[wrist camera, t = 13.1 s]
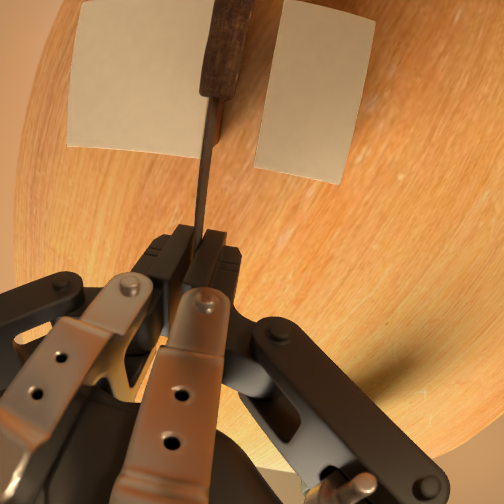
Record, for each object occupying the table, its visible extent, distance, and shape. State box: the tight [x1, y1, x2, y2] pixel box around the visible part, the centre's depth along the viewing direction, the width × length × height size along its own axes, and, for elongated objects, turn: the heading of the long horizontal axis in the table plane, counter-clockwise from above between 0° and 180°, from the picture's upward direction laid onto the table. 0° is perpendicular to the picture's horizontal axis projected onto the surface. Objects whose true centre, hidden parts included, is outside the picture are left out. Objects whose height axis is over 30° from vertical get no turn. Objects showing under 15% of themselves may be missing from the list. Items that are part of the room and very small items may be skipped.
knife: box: [193, 0, 255, 258], centre depth 8 cm, size 16×1×2 cm, turn 170°
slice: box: [253, 0, 376, 185], centre depth 13 cm, size 4×8×4 cm, turn 171°
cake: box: [67, 0, 225, 159], centre depth 13 cm, size 8×8×4 cm
